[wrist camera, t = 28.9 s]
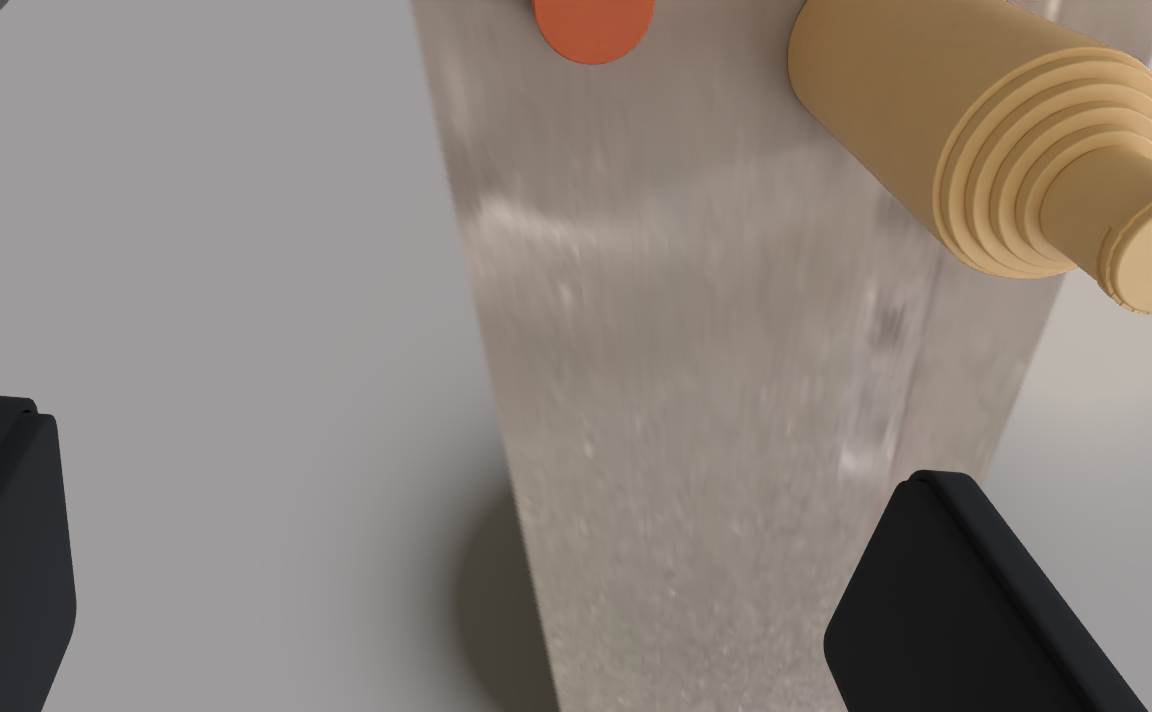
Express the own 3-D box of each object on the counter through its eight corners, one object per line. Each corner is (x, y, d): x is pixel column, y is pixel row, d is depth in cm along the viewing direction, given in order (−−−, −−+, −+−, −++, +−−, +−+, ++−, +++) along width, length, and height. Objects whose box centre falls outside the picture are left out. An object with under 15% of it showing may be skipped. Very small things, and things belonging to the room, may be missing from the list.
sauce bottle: (758, 23, 34) (995, 227, 19) (915, -82, 33) (1306, 49, 18) (828, 157, 38) (1078, 424, 22) (974, 67, 36) (1347, 286, 21)
